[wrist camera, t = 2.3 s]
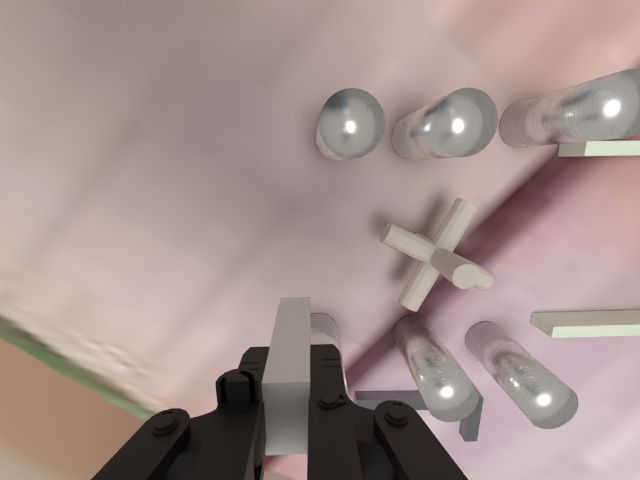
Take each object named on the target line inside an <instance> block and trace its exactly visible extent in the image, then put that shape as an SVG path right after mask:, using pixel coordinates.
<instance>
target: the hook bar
mask: <svg viewBox="0 0 640 480" xmlns="http://www.w3.org/2000/svg"><path fill="white" fill-rule="evenodd" d="M478 394H479V400H478V403H477V406H476V408H475V409H474V411H473V412H472V413H471V414H470V415H468V416H467V417H465V418H464V419H461V423H460V430H459V432H460V434H461V436H462V437H463V439H464V441H477V437H478V430H479V424H480V417H481V411H482V404H483V397H482V396H481V394H480V393H479V391H478ZM386 400H396V401H401V402H404V403H406V404H408V405H410V406H411V407H412V408H413V409H414V410H428V408H427V406H426V404H425V402H424V400H423V398H422V396H421V393H420V391H419V390H416V391H358V392H355V404H357V405H359V406H361V407H364V408H367V409H372V410H375V408H376V407H377V406H378V404H379V403H381V402H384V401H386Z"/></svg>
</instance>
